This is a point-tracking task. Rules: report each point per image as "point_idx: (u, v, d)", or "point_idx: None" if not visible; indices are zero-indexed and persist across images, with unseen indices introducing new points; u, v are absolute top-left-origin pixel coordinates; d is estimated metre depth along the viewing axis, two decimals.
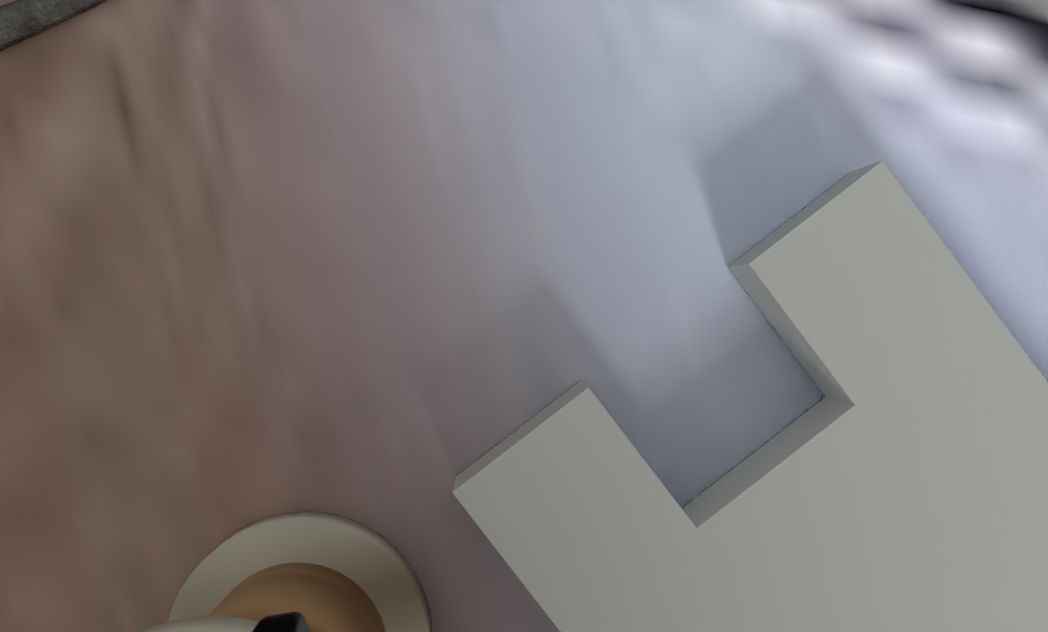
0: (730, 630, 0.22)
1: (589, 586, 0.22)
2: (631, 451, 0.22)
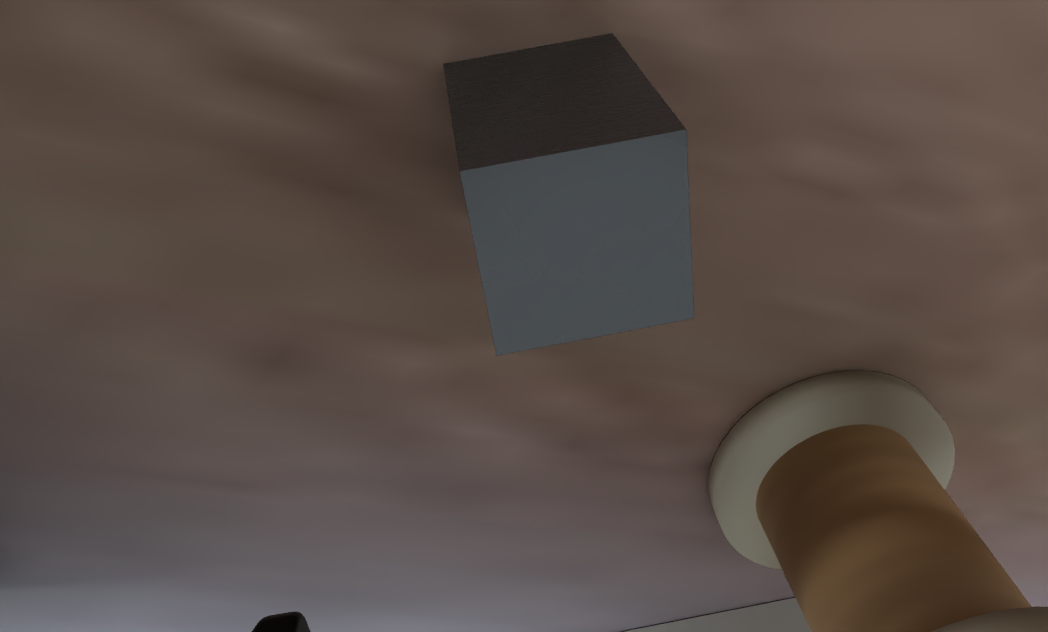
0: None
1: None
2: None
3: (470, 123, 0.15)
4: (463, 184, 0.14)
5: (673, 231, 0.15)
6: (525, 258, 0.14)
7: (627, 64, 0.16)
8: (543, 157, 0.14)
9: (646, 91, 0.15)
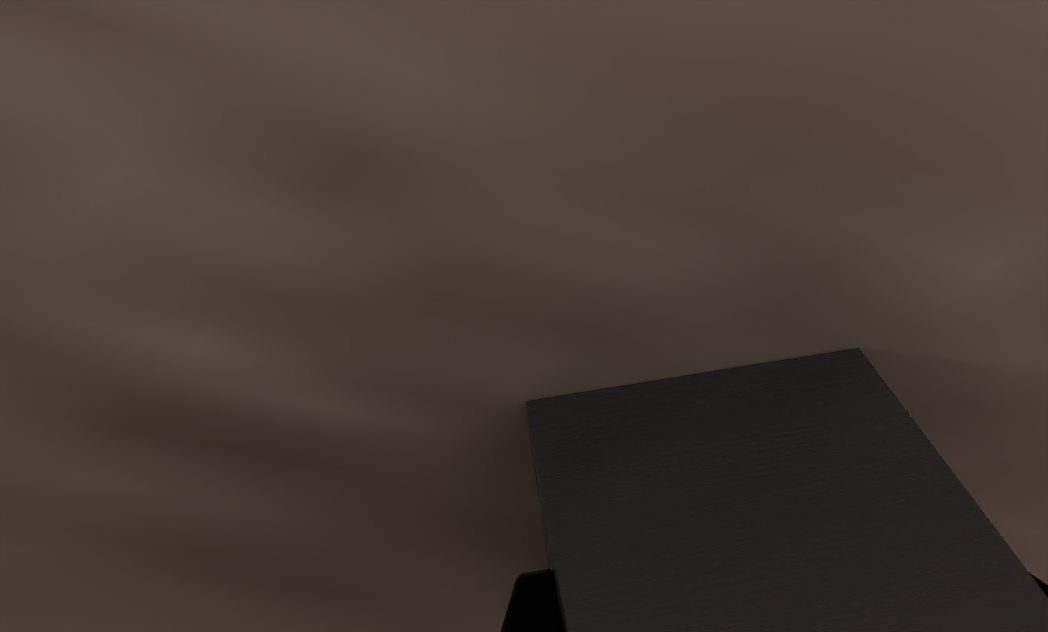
0: None
1: None
2: None
3: None
4: None
5: None
6: None
7: (950, 492, 0.07)
8: None
9: None
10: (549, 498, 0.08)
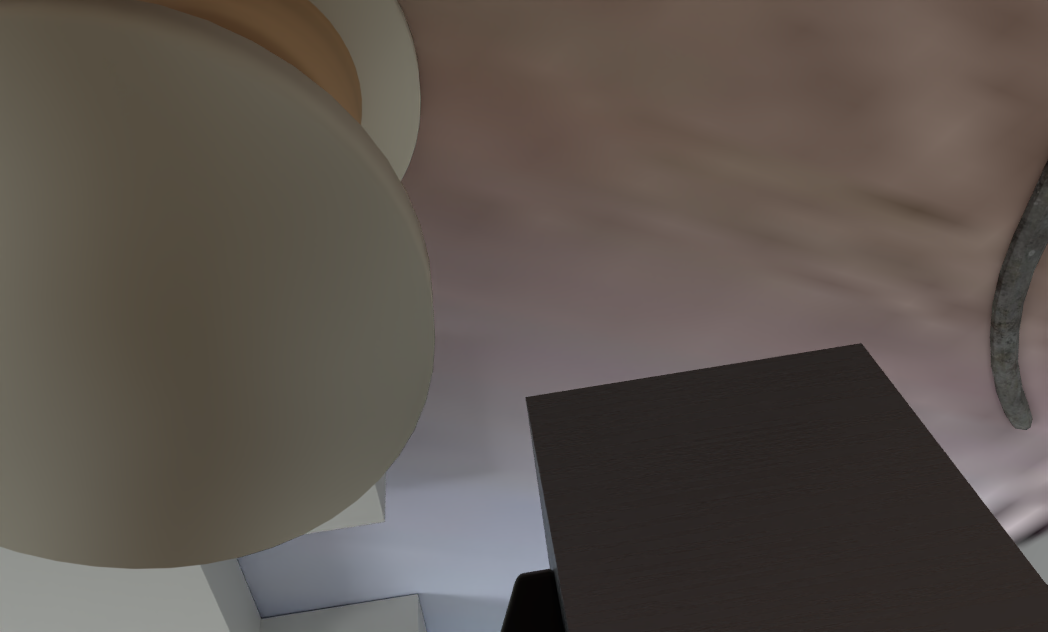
0: None
1: None
2: None
3: None
4: None
5: None
6: None
7: (954, 486, 0.07)
8: None
9: None
10: (549, 494, 0.08)
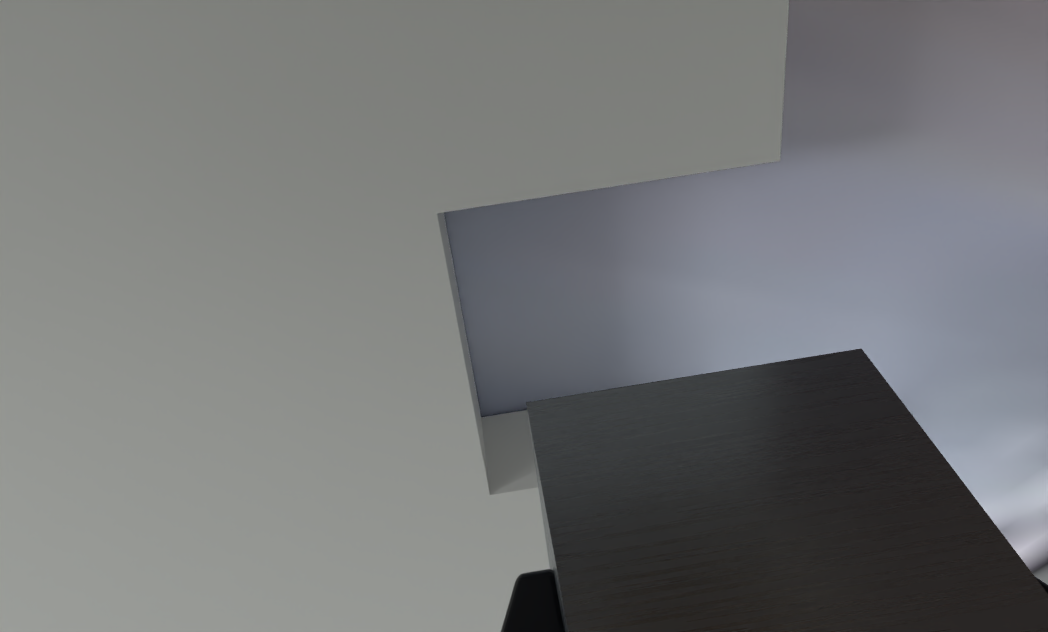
0: (213, 180, 0.11)
1: None
2: (631, 173, 0.11)
3: None
4: None
5: None
6: None
7: (954, 493, 0.07)
8: None
9: None
10: (550, 499, 0.08)
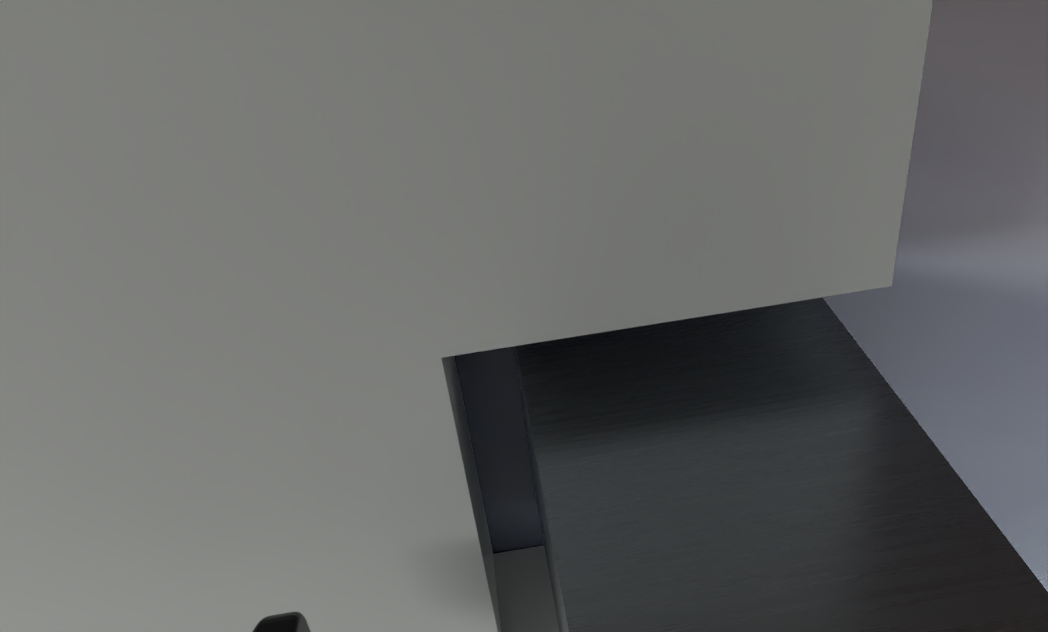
0: (141, 324, 0.08)
1: (440, 36, 0.07)
2: (696, 303, 0.09)
3: (581, 506, 0.08)
4: None
5: None
6: None
7: (851, 353, 0.09)
8: None
9: (922, 456, 0.08)
10: (524, 366, 0.10)
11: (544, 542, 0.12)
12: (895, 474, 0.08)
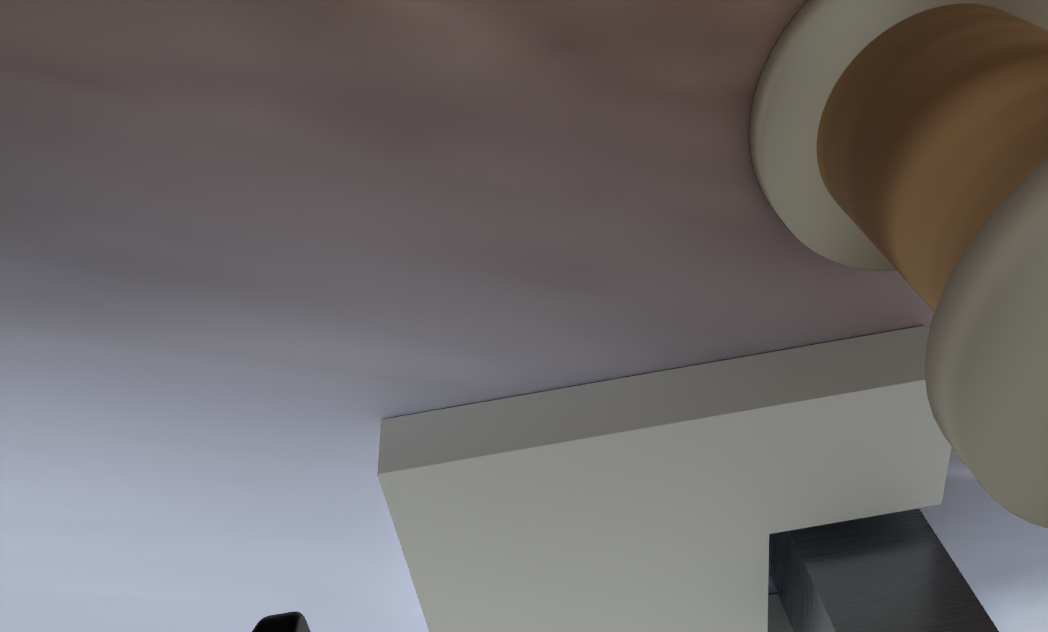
0: (668, 527, 0.22)
1: (790, 442, 0.21)
2: (866, 512, 0.23)
3: (831, 594, 0.22)
4: None
5: None
6: None
7: (925, 527, 0.23)
8: None
9: (954, 575, 0.22)
10: (791, 530, 0.24)
11: (783, 596, 0.26)
12: (945, 582, 0.22)
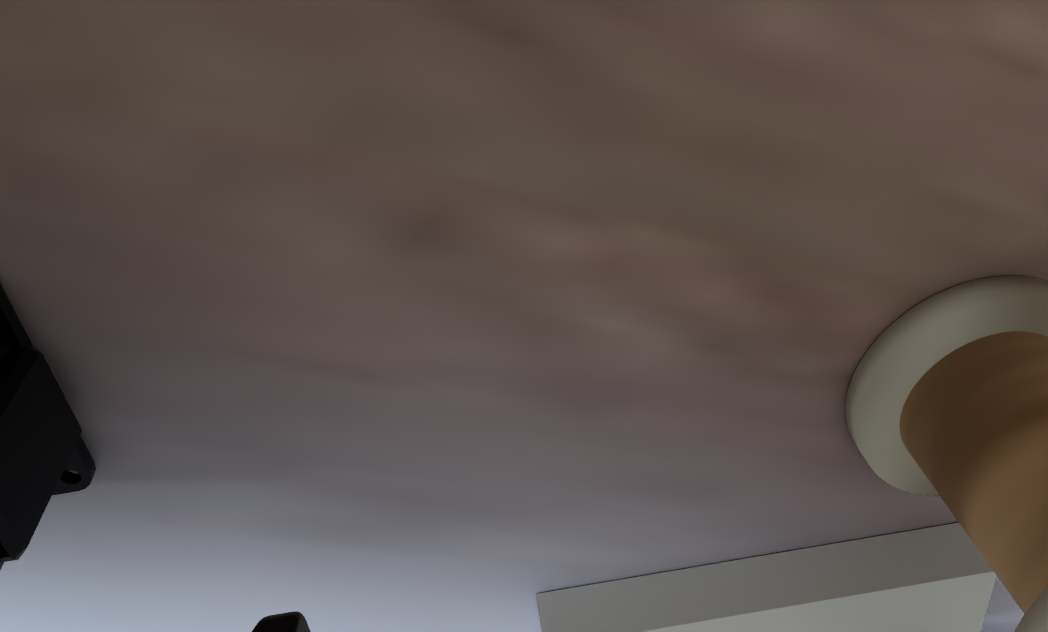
0: None
1: (862, 619, 0.27)
2: None
3: None
4: None
5: None
6: None
7: None
8: None
9: None
10: None
11: None
12: None
